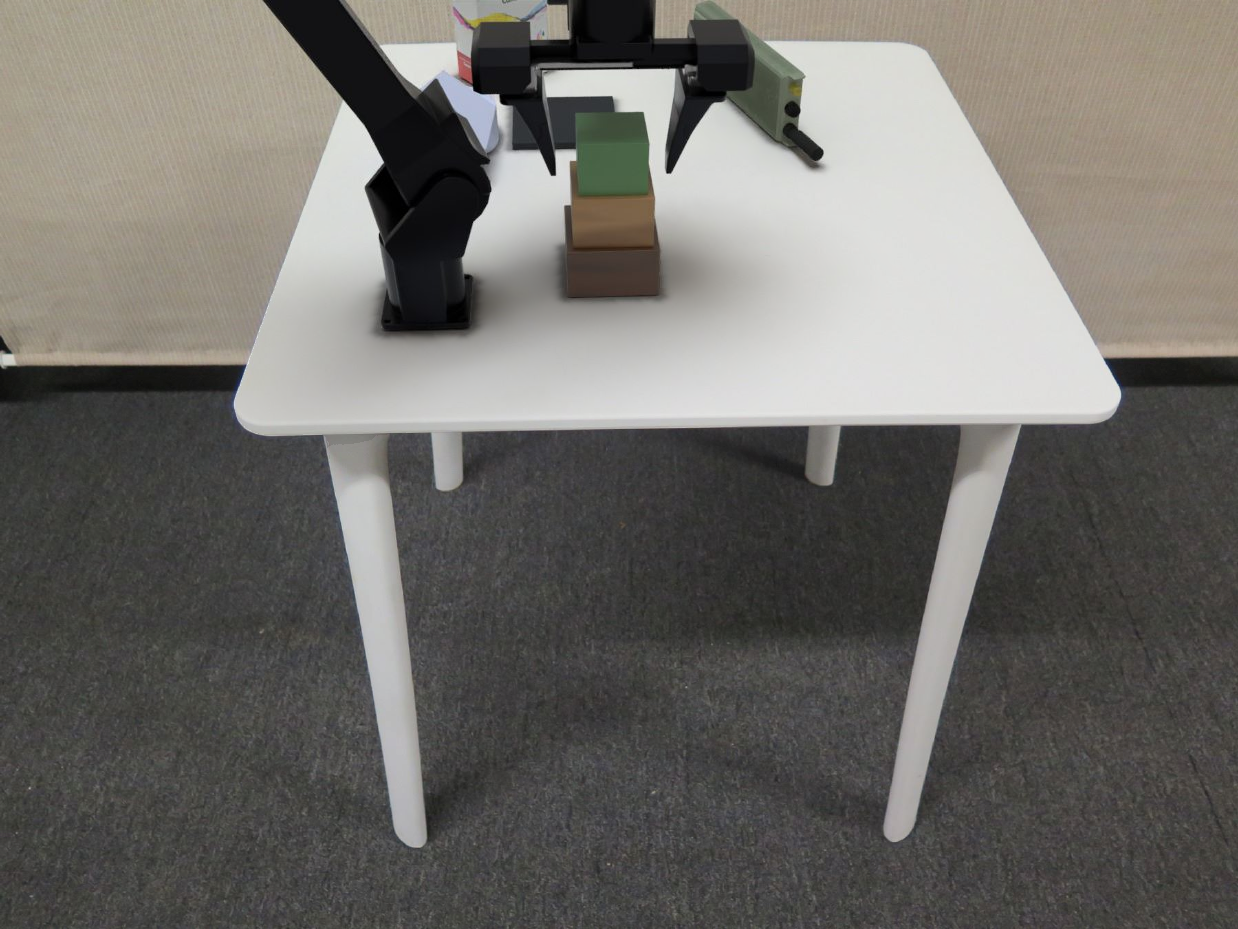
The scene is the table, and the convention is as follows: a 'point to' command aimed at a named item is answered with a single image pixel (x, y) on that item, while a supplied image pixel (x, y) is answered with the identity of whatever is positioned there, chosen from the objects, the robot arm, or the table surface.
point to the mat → (560, 120)
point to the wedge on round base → (472, 108)
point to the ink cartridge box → (493, 5)
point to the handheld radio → (769, 90)
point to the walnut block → (611, 268)
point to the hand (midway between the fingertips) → (610, 172)
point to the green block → (612, 153)
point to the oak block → (611, 218)
